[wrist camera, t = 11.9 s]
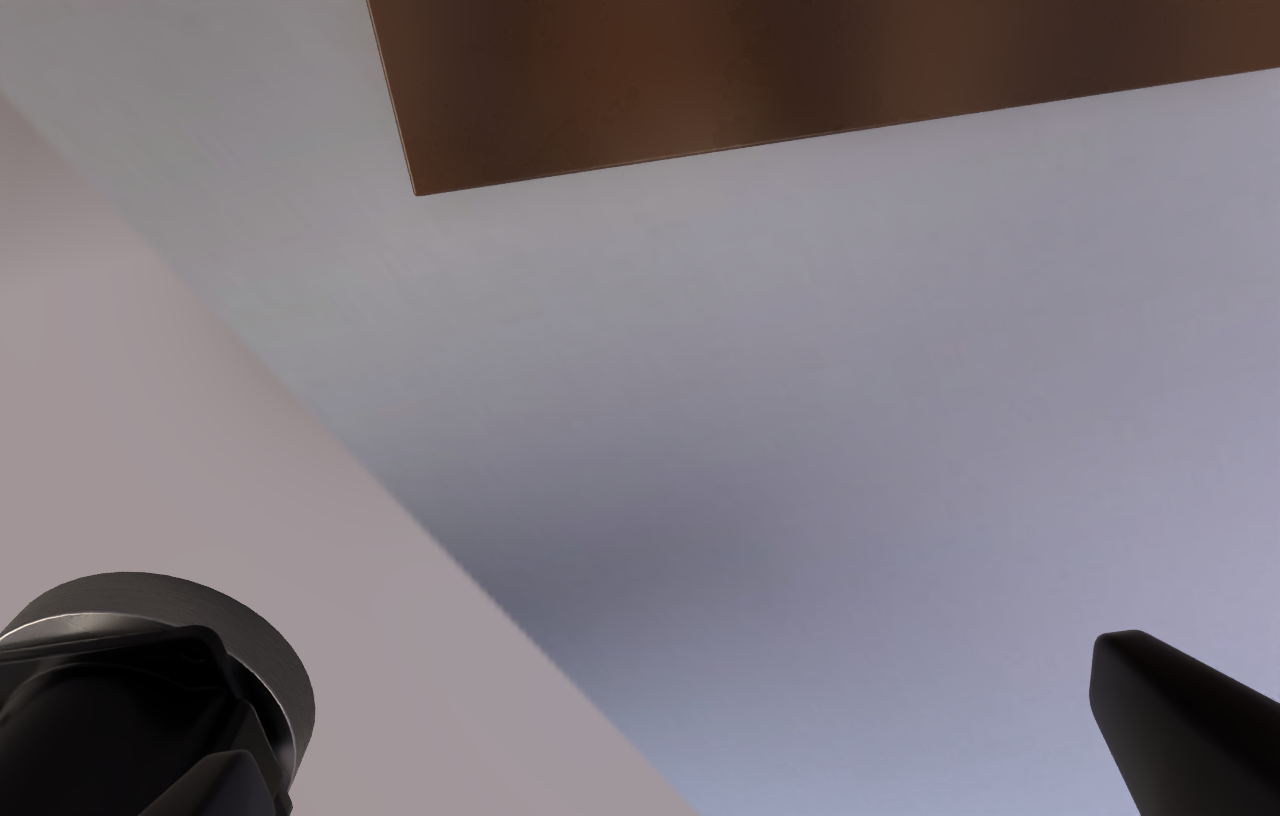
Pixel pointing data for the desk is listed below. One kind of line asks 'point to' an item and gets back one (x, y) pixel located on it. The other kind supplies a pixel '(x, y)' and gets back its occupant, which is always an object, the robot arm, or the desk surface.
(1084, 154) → the desk surface
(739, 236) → the desk surface
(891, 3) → the walnut board
